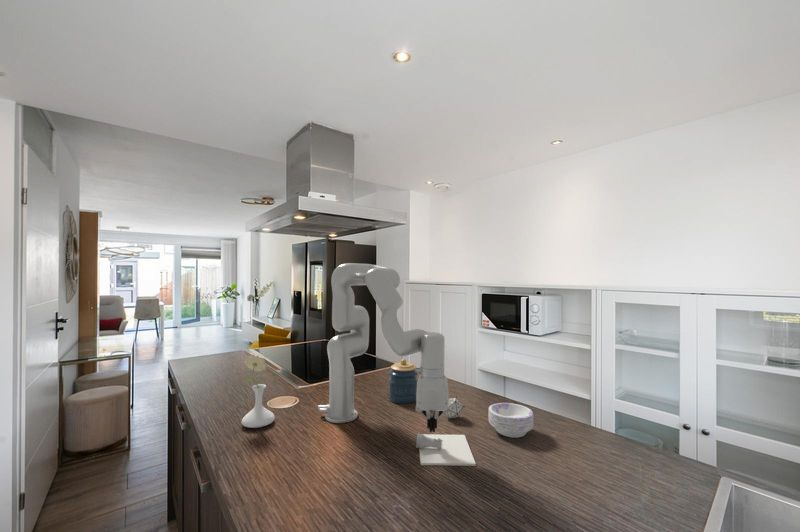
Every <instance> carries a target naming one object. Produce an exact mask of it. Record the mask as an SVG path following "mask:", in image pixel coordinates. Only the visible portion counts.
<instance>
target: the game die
mask: <svg viewBox="0 0 800 532" xmlns="http://www.w3.org/2000/svg"><path fill="white" fill-rule="evenodd" d="M457 397H458V396H457V395H455V397H449V412H446V413H444V414H445V416H447V421H450V419H457V418H458V419H459V420H461V415H462V411H463V409H464V408H465V407H466V406H465V405H463V404H462V403H461V402H460V401H459V399H458V398H457Z"/></svg>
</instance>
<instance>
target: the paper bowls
mask: <svg viewBox="0 0 800 532" xmlns="http://www.w3.org/2000/svg"><path fill="white" fill-rule="evenodd" d="M488 423H489V424H490V425H491V426H492V427H494V429H495V431H496V432H497V433H498V434H500V435H501V436H504V437H507V438H511V439H512V438H514V439H516V438H522V437H525V436H526V435H527V433H528V432H530V431H532V430H533V429H534V411H532V409H531V408H529V407H527V406H524V405H522V404H516V403H511V402H500V403H499V402H498V403H493V404H491V405H489V407H488Z"/></svg>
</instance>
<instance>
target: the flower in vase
mask: <svg viewBox="0 0 800 532" xmlns="http://www.w3.org/2000/svg"><path fill="white" fill-rule="evenodd" d="M244 364H245V366H246V367H247V368H248V369H250V370H251V371H252V373H251V374H252V375H251V376H250V375H247V376H246V377H245V378H244V379H243V381H248V382H249V383H250V382H251V383H252V382H254V384H253V385H252V386H251V389H252V391H253V392H254V396H255V398H254V399H255V403H254V407H253V408H252V409H251V410H250V411H249V412H247V414H245V415H244V416H243V418H242V419H241V424H242V426H243V427H244V428H252V429H257V428H263V427H265V426H268V425H270V424H272V423H273V422H274V421H275V419H276V416H275V413H273V412H272V411H271V410H269V409H267V408H265V406H263V394H264V391H265V388H266V387H267V385H266V384H264V383H261V382H263V381H264V380H265V379H266V377H262V378H260V379H259V380H257V381H256V380H255V378H254V373H255V372H260V371H264V370H266V368H267V362H266V360H265V358H263V357H260V356H259V355H258V354H257V355H255V354H252V355H251V354H250V355H249V356H246V357H245V359H244ZM254 371H255V372H254ZM259 383H261V384H259Z"/></svg>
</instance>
